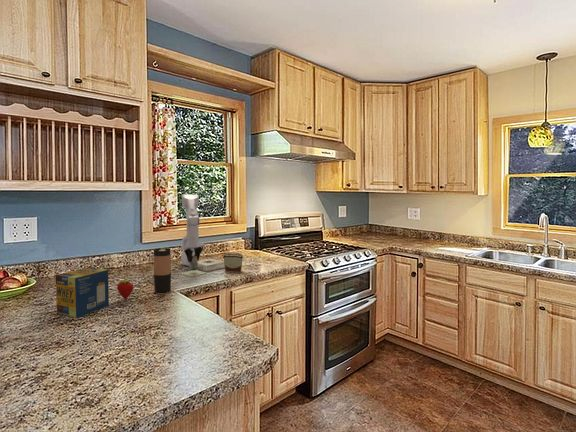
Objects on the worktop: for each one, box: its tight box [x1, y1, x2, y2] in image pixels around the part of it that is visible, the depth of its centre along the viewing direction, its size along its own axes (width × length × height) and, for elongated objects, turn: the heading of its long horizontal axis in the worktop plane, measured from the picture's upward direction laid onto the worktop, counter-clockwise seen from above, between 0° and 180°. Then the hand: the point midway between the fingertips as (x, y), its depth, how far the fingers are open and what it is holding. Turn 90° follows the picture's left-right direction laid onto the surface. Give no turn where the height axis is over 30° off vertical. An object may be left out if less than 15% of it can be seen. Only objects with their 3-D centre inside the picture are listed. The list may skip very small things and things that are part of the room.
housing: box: [197, 258, 225, 273], centre depth 215 cm, size 14×14×4 cm
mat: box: [180, 270, 207, 278], centre depth 200 cm, size 10×10×1 cm
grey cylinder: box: [189, 255, 199, 271], centre depth 200 cm, size 4×4×8 cm
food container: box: [222, 252, 245, 273], centre depth 208 cm, size 12×6×10 cm, turn 83°
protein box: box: [55, 266, 110, 319], centre depth 140 cm, size 10×15×16 cm
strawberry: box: [116, 278, 134, 300], centre depth 154 cm, size 6×8×10 cm
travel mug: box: [153, 247, 172, 294], centre depth 166 cm, size 8×8×20 cm
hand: (193, 261), depth 199 cm, fingers closed on grey cylinder, 4 cm apart
